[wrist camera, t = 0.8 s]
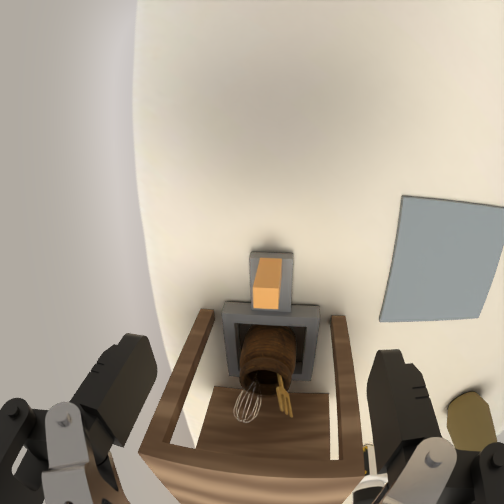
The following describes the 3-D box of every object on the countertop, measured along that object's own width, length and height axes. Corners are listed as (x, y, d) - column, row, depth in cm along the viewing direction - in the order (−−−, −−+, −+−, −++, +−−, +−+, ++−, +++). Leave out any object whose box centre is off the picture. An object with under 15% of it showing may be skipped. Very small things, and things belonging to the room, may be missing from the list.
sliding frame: (220, 250, 30) (203, 284, 24) (324, 254, 28) (329, 290, 23) (232, 364, 37) (222, 402, 31) (310, 369, 35) (310, 408, 30)
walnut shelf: (200, 308, 33) (137, 452, 17) (345, 315, 31) (364, 476, 15) (215, 392, 40) (182, 505, 24) (327, 399, 38) (326, 519, 22)
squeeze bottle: (435, 418, 39) (453, 505, 23) (452, 390, 35) (480, 486, 19) (470, 410, 38) (493, 490, 22) (489, 382, 34) (521, 468, 18)
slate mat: (401, 195, 25) (403, 197, 24) (509, 208, 23) (511, 210, 22) (378, 319, 31) (379, 322, 31) (476, 315, 29) (478, 318, 29)
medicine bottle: (366, 443, 43) (370, 499, 33) (391, 449, 44) (396, 500, 34) (340, 457, 47) (341, 510, 36) (365, 462, 47) (367, 511, 37)
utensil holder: (234, 334, 35) (211, 418, 24) (275, 307, 32) (263, 398, 21) (268, 361, 36) (256, 444, 25) (309, 339, 33) (308, 427, 23)
